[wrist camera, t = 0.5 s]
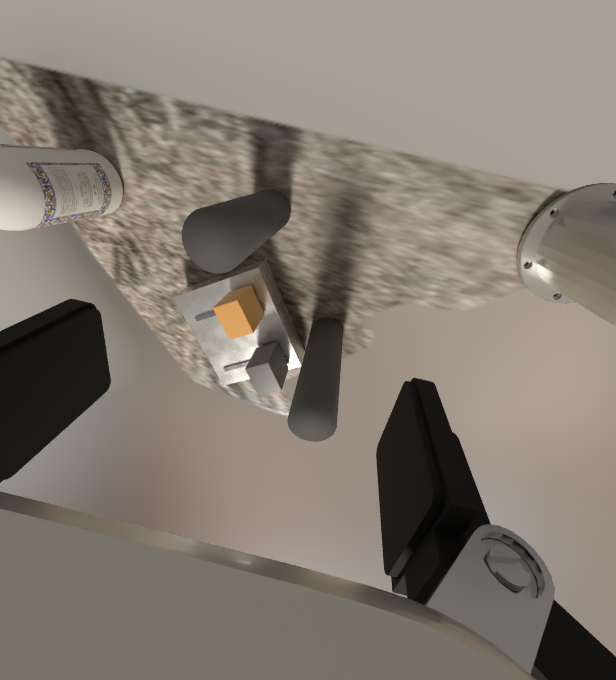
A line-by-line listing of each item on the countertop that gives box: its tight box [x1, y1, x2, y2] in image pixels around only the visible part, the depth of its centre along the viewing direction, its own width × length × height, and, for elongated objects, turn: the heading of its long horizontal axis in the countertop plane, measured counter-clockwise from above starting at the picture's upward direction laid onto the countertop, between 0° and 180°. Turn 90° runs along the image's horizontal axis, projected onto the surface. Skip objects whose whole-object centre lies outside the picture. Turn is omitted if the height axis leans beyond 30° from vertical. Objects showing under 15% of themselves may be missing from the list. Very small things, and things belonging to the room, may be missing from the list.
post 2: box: [288, 318, 343, 441], centre depth 36 cm, size 4×4×18 cm
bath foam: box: [0, 144, 123, 230], centre depth 30 cm, size 7×7×20 cm
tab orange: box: [213, 285, 265, 340], centre depth 37 cm, size 3×4×5 cm
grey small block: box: [245, 342, 289, 396], centre depth 40 cm, size 3×4×5 cm
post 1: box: [182, 190, 291, 274], centre depth 30 cm, size 4×4×18 cm
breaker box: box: [173, 259, 305, 385], centre depth 43 cm, size 12×14×4 cm
